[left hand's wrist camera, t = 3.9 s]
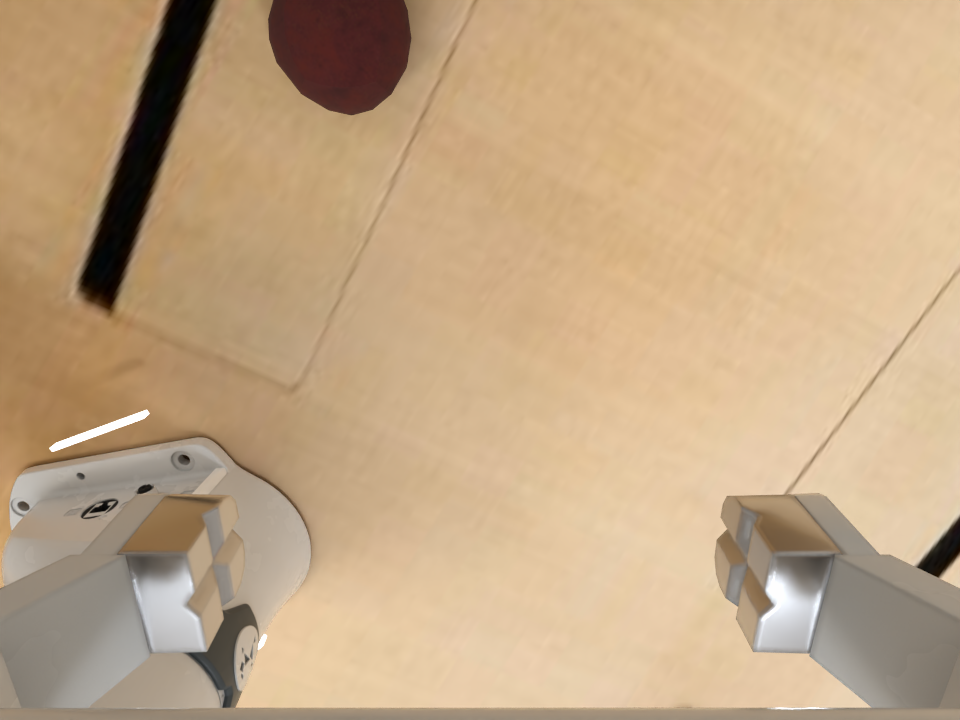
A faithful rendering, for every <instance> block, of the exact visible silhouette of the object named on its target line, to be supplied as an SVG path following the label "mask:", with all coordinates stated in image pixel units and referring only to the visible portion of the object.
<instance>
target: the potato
mask: <svg viewBox="0 0 960 720" xmlns="http://www.w3.org/2000/svg"><path fill="white" fill-rule="evenodd" d="M268 23H269V40H270V43H271V46H272V49H273V53H274V56H275V59H276V62H277V63H278V65H279V66H280V67H281V69H282V70H283V71H284V72H285V74H286V75H287V76H288V78H289V79H290V80H291V81H292V83H293V84H294V85H295V86H296V88H297V89H298V90H299V92H300V93H301V94H302V95H304V96H306V97H307V98H309V99H311V100H312V101H314V102H316V103H317V104H319V105H321V106H322V107H324V108H326V109H328V110H330V111H334V112H339V113H343V114H348V115H355V114H358V113H362V112H366V111H369V110H373V109H374V108H375V107H376V106H377V105H379V104H380V103H381V102H382V101H383V100H385V99H386V98H387V97H388V96H390V95H391V94H392V92H393V90H394V89H395V87H396V85H397V83H398V82H399V80H400V78H401V76H402V75H403V73H404V71H405V69H406V67H407V62H408V55H409V49H410V43H411V33H410V26H409V19H408V10H407V8H406V5H405V2H404V0H273V4H272V7H271V11H270V15H269V19H268Z"/></svg>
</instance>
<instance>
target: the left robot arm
mask: <svg viewBox="0 0 960 720" xmlns="http://www.w3.org/2000/svg"><path fill="white" fill-rule="evenodd" d="M148 414H149V412H148V411H147V410H145V411H142V412H140V413H137V414H134V415H131V416H129V417H126V418H123V419H120V420H118V421H115V422H112V423H109V424H107V425H104V426H101V427H98V428H96V429H93V430H90V431H87V432H85V433H82V434H79V435H76V436H74V437H71V438H68V439H65V440H63V441H60V442H57V443H55V444H54V445H53V446H52V447H50V449H51V451H52V452H53V451H56V450H59V449H61V448H64V447H67V446H70V445H72V444H75V443H78V442H81V441H83V440H86V439H89V438H92V437H95V436H97V435H100V434H103V433H106V432H108V431H111V430H114V429H117V428H119V427H122V426H125V425H128V424H130V423H133V422H136V421H139V420H141V419H144V418H145V417H146V416H147V415H148ZM183 455H186V456H188V457H189V458H190V460H187V459H185V458H184V457H183ZM25 502H26V503H27V504H26V503H25ZM9 515H10V525H11V530H12V532H11V533H10V535H9V537H8V539H7V541H6V543H5V546H4V550H3V554H2V577H3V583H4V587H2V588H0V720H960V588H958V587H956V586H954V585H951V584H949V583H947V582H945V581H943V580H941V579H939V578H937V577H935V576H933V575H931V574H929V573H927V572H925V571H922V570H920V569H918V568H916V567H914V566H912V565H910V564H908V563H906V562H904V561H902V560H900V559H898V558H896V557H893V556H891V555H880V554H879V553H878V552H877V551H876V550H875V549H874V548H873V547H872V546H871V545H870V543H869V542H868V541H867V540H866V539H865V538H864V537H863V536H862V535H861V534H860V533H859V532H858V530H857V529H856V528H855V527H854V526H853V525H852V524H851V523H850V522H849V521H848V520H847V518H846V517H845V516H844V515H843V514H842V513H841V512H840V511H839V510H838V509H837V508H836V506H835V505H834V504H833V503H832V502H831V501H830V500H829V499H828V498H827V497H826V496H824V495H822V494H819V493H809V494H788V495H747V496H727V497H726V499H725V501H724V503H723V507H722V512H721V519H722V520H723V522H724V524H725V526H726V527H727V530H726V531H725V532H724V533H723V534H722V535H721V536H720V537H719V538H718V539H717V543H716V550H715V567H716V575H717V579H718V582H719V585H720V588H721V590H722V592H723V594H724V596H725V598H726V599H728V600H729V601H731V602H732V603H734V604H735V605H736V606H738V611H737V616H736V620H737V622H738V624H739V625H740V627H741V629H742V631H743V633H744V635H745V637H746V639H747V641H748V643H749V645H750V647H751V649H752V650H753V652H775V653H810V657H811V658H812V659H814V660H815V661H816V662H817V663H818V664H820V665H821V666H822V667H823V668H825V669H826V670H827V671H828V672H829V673H831V674H832V675H833V676H834V677H835V678H837V679H838V680H839V681H840V682H842V683H843V684H844V685H845V686H846V687H848V688H849V689H850V690H851V691H853V692H854V693H855V694H856V695H857V696H859V697H860V698H861V699H862V700H863V701H865V702H866V703H867V704H868V705H870V706H871V707H872V708H235V707H236V705H237V703H238V700H239V698H240V695H241V693H242V691H243V690H244V688H245V686H246V684H247V682H248V679H249V677H250V674H251V671H252V668H253V665H254V662H255V658H256V654H257V651H258V650H259V649H260V648H261V647H262V646H263V645H264V642H265V640H266V637H267V636H266V635H265V632H266V631H267V629H268V627H269V626H270V624H271V622H272V621H273V619H274V618H275V616H276V615H277V613H278V612H279V611H280V609H281V608H282V607H283V605H284V604H285V603H286V602H287V601H288V599H289V598H290V597H291V596H292V595H293V594H294V593H295V592H296V591H297V590H298V589H299V587H300V586H301V585H302V583H303V581H304V580H305V578H306V575H307V573H308V570H309V567H310V562H311V544H310V538H309V534H308V531H307V529H306V526H305V524H304V522H303V520H302V518H301V516H300V515H299V513H298V512H297V510H296V509H295V508H294V506H293V505H292V504H291V503H290V502H289V500H288V499H287V498H286V497H285V496H284V495H282V494H281V493H280V492H279V491H278V490H277V489H275V488H274V487H273V486H271V485H270V484H268V483H267V482H265V481H263V480H262V479H260V478H258V477H256V476H254V475H252V474H250V473H249V472H247V471H245V470H243V469H242V468H240V467H239V466H238V465H236V464H235V463H234V461H233V460H232V459H231V458H230V457H229V456H228V455H227V454H226V453H225V451H224V450H223V449H222V448H221V447H220V446H218V445H217V444H216V443H215V442H213V441H212V440H210V439H208V438H204V437H195V438H190V439H184V440H178V441H173V442H167V443H161V444H156V445H150V446H145V447H139V448H133V449H128V450H122V451H117V452H111V453H105V454H100V455H94V456H88V457H83V458H77V459H72V460H66V461H60V462H55V463H49V464H44V465H38V466H33V467H30V468H27V469H25V470H24V471H23V472H22V473H21V474H20V475H19V476H18V477H17V479H16V481H15V483H14V485H13V488H12V491H11V496H10V504H9Z"/></svg>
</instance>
